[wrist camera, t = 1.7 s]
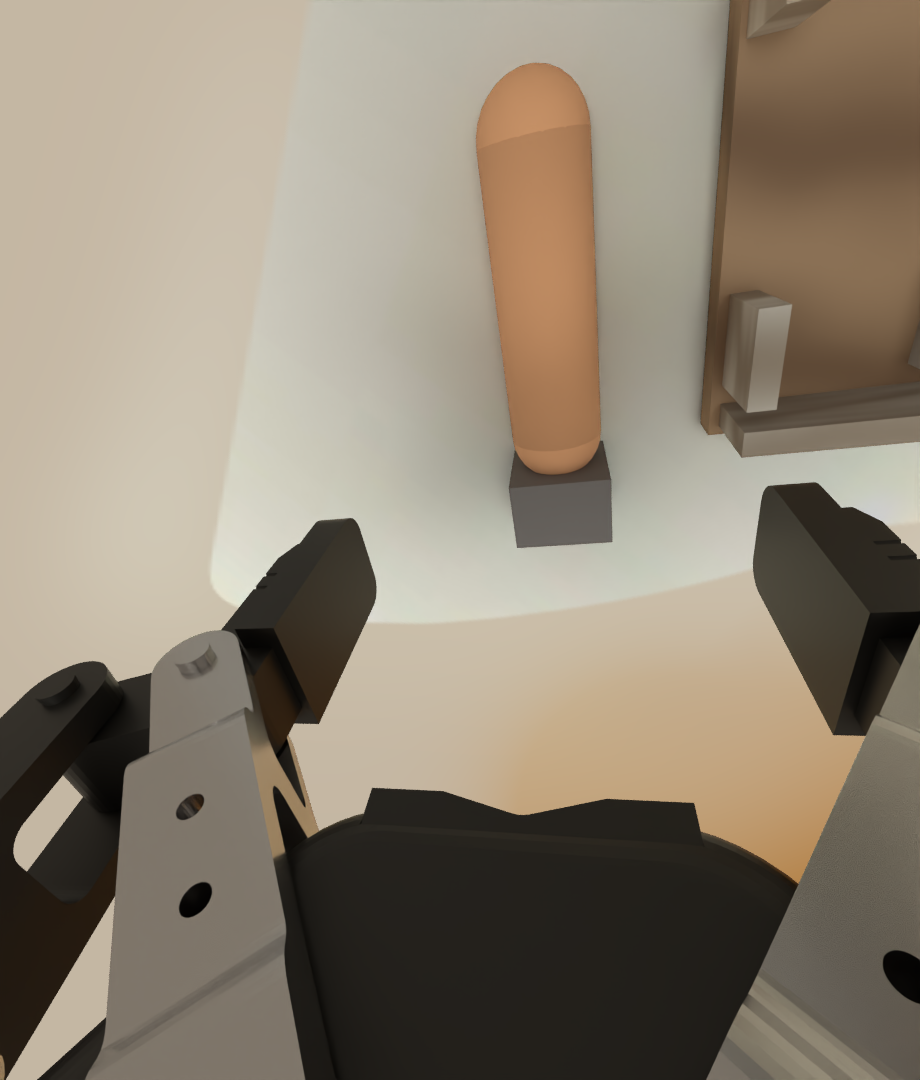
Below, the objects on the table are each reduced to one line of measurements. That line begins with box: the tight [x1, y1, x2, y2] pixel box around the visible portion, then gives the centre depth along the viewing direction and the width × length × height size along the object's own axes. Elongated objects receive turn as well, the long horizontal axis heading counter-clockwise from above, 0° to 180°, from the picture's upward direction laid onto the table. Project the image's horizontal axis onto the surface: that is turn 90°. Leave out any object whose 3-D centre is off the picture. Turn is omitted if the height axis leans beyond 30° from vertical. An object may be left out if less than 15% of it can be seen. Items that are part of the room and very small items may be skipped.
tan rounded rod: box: [476, 63, 612, 548], centre depth 22 cm, size 18×4×4 cm, turn 10°
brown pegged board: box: [701, 0, 920, 457], centre depth 16 cm, size 21×9×5 cm, turn 10°
